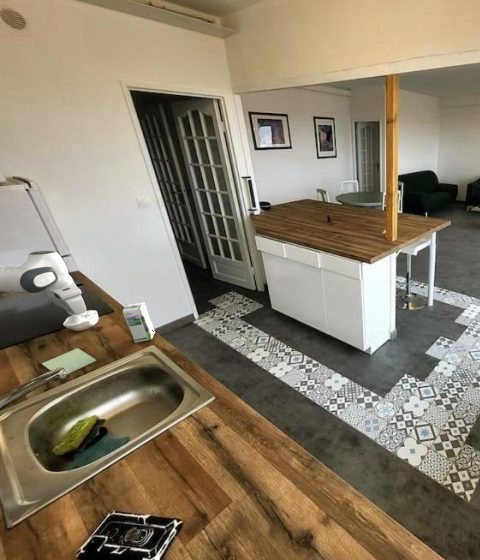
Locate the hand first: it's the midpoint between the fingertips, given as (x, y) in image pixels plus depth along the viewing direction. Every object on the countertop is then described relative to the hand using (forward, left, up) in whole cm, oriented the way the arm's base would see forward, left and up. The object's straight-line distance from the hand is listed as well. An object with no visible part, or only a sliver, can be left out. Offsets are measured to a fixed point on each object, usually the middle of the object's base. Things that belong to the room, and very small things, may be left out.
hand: (75, 317), depth 131 cm
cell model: (0, -7, -3) cm, 8 cm away
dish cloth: (-13, -29, -3) cm, 32 cm away
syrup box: (+8, -36, -3) cm, 37 cm away
